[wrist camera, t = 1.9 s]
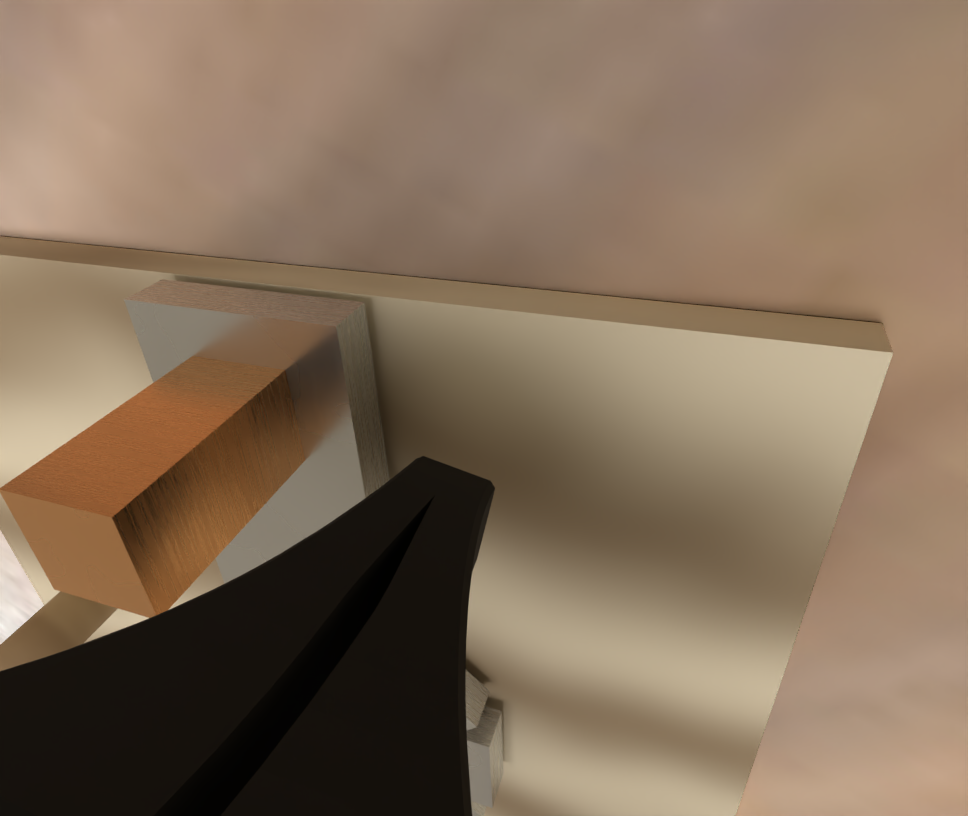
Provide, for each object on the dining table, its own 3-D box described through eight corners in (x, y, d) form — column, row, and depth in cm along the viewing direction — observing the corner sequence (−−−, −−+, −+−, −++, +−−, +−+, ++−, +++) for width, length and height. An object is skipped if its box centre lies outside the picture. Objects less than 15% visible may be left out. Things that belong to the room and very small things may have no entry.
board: (703, 879, 21) (701, 915, 20) (120, 682, 27) (101, 703, 26) (882, 323, 10) (893, 352, 9) (-127, 223, 17) (-171, 236, 16)
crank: (505, 826, 20) (445, 1034, 16) (255, 740, 23) (151, 901, 19) (488, 316, 11) (339, 511, 7) (71, 269, 14) (-210, 391, 10)
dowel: (131, 609, 21) (23, 721, 18) (92, 598, 22) (-20, 704, 19) (114, 575, 20) (-3, 685, 17) (74, 564, 21) (-47, 669, 18)
